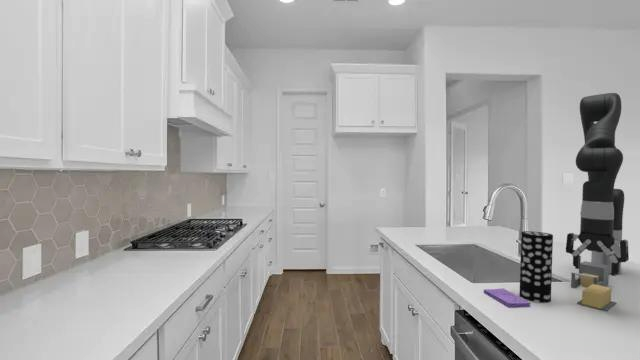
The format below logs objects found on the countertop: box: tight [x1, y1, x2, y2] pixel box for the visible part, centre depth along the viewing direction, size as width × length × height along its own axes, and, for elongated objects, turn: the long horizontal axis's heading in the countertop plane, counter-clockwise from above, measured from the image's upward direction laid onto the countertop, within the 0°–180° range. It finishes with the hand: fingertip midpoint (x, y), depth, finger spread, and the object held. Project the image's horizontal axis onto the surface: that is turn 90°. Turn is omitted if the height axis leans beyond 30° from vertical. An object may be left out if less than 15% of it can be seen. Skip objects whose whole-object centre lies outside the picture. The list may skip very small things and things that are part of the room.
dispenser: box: [570, 260, 610, 289], centre depth 119 cm, size 14×7×7 cm, turn 127°
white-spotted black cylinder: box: [518, 230, 554, 303], centre depth 107 cm, size 8×8×20 cm
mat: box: [576, 299, 617, 312], centre depth 103 cm, size 10×7×1 cm
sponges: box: [483, 288, 532, 309], centre depth 106 cm, size 7×13×2 cm, turn 7°
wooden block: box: [581, 284, 612, 308], centre depth 103 cm, size 10×4×4 cm, turn 128°
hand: (595, 271), depth 101 cm, fingers open, 8 cm apart
